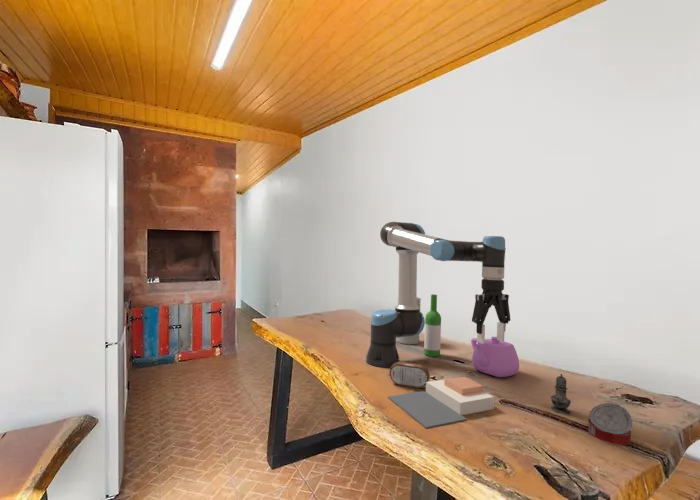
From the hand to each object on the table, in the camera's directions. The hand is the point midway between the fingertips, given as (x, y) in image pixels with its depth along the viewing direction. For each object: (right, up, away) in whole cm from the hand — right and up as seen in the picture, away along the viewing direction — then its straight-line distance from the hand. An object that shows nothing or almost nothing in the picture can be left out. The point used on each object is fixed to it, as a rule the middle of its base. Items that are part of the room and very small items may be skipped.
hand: (490, 341), depth 125 cm
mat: (-26, -18, -12) cm, 34 cm away
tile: (-12, -15, -5) cm, 20 cm away
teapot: (+12, -20, +25) cm, 34 cm away
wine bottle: (-10, -19, +47) cm, 52 cm away
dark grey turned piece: (+19, -20, -10) cm, 30 cm away
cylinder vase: (-18, -19, +71) cm, 76 cm away
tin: (-28, -19, +7) cm, 35 cm away
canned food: (+23, -20, -26) cm, 40 cm away
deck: (-13, -19, -6) cm, 24 cm away
